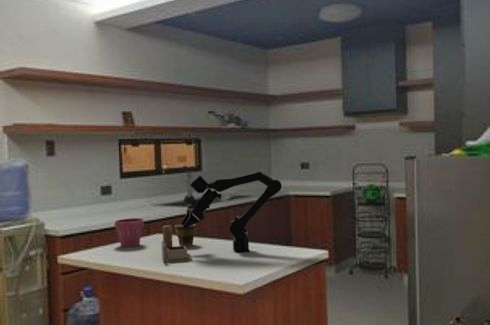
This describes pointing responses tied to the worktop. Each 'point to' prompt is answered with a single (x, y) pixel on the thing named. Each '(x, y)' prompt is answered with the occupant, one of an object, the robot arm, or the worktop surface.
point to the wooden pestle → (167, 236)
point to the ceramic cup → (185, 234)
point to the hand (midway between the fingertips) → (182, 226)
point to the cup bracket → (175, 254)
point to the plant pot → (129, 231)
